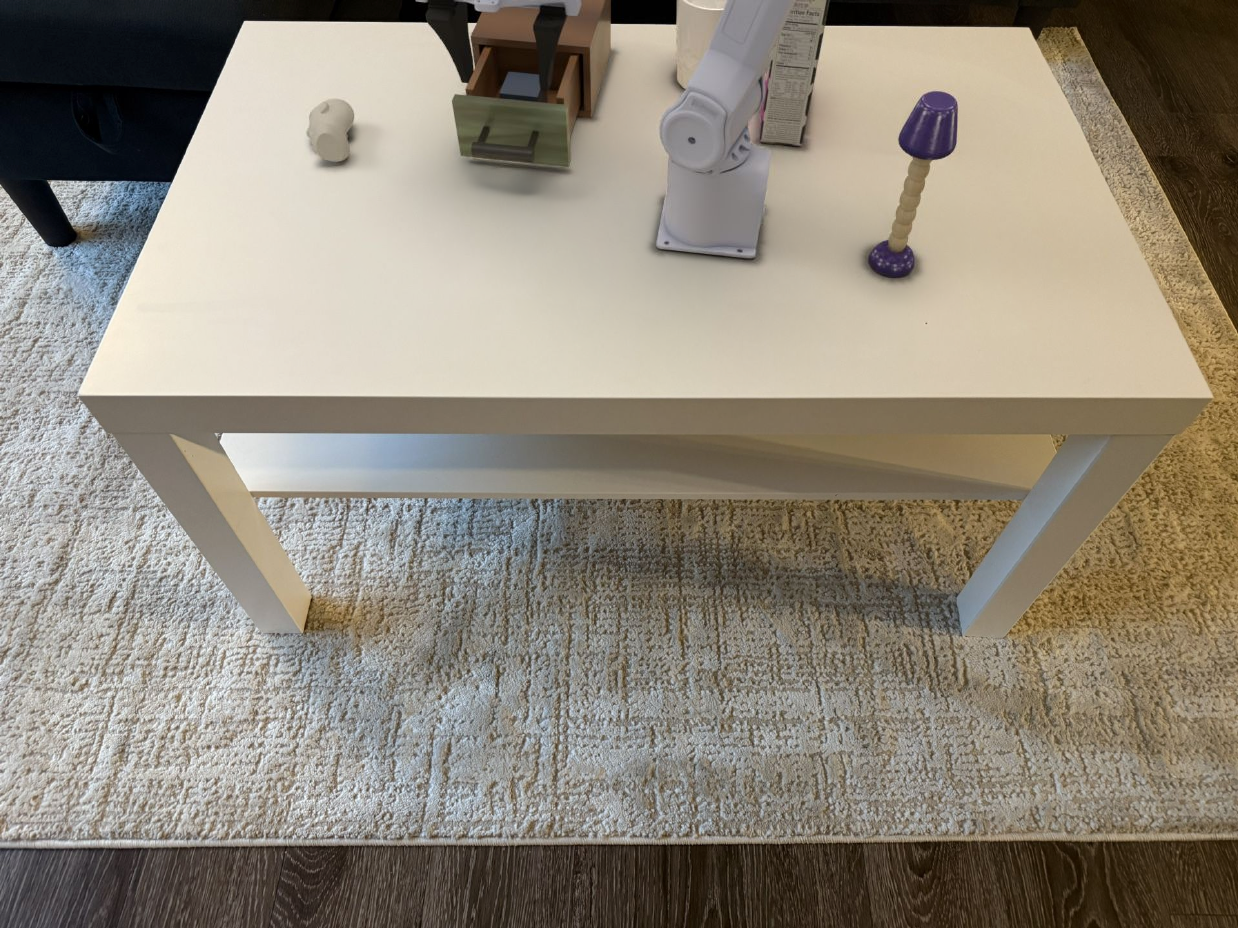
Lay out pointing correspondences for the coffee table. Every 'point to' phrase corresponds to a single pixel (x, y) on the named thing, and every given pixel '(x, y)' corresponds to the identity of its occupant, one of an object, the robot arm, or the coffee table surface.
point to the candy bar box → (793, 74)
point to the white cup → (694, 33)
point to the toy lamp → (917, 175)
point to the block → (522, 88)
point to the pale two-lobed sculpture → (331, 129)
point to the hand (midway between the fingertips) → (506, 81)
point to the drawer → (518, 109)
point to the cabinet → (577, 36)
